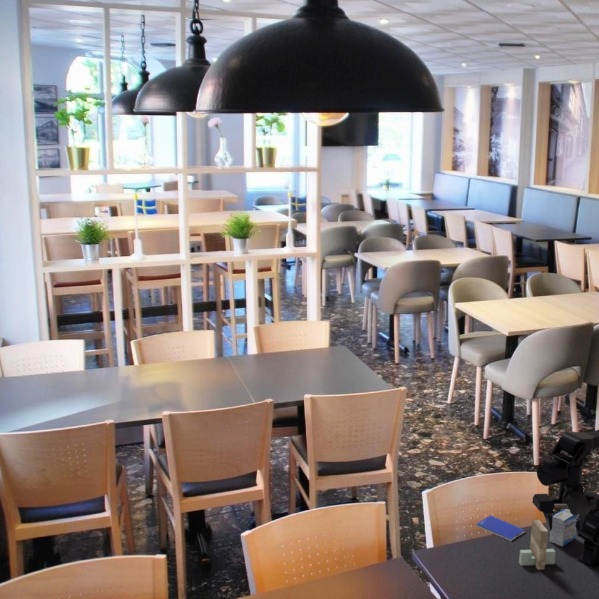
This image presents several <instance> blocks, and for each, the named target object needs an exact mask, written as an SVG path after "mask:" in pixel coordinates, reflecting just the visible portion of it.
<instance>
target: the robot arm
mask: <svg viewBox="0 0 599 599" xmlns="http://www.w3.org/2000/svg"><path fill="white" fill-rule="evenodd" d="M598 449H599V429H595V430H593V431H589V432H588V431H587V432H579V431H566V432H564V433H562V435H561V436H560V438H559V439H558V441H557V442H556V444H555V445H554V448H553V449H552V450H551V452H550V454H549V456H550V457H552V458H553V459H552V458H551V459H545V460H543V463H542V464H540V465H539V466H538V468H537V469H536V477H537V479H538V481H539V483H540V484H541V485H543V486H544V487H549V486H553V485H558V490H556V491H555V493H556V494H555V495H557V497H551V496H550V495H549V494H548V493H535V494H534V495H533V497H532V504H533V505H534V506H535V507H536V508H537V510H538V511H539V512H542V513H543V517H544V519H545V522H546V526H547V528H548V529H547V530H549V531H551V530H552V520H553V516H554V515H555V514H556V513H555V511H554V510H555V506H567V507H568V508H567V509H568V510H570V513H571V514H572V515H577V519H576V520H577V521H576V525H575V527H576V533H577V534H576V535H577V537H578V538H581V539H582V540H583V547H582V548H583V550H582V553H581V555H579V556H578V557H577V561H580V562H582V563H584V564H586V565H588V566H590V567H593V568H596V569H599V493H597V492H596V491H584V485H583V484H582V480H583V470H584V468H583V467H584V464H585V463H589V462H590V460H589V458H588V457H589V456H590V455H591V454H592V452H593V451H594V450H598ZM561 452H563V453H561ZM566 454H567V455H566ZM568 455H569V456H568Z"/></svg>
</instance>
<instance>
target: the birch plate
mask: <svg viewBox="0 0 599 599" xmlns="http://www.w3.org/2000/svg"><path fill="white" fill-rule="evenodd" d="M530 530H531V533H530V542H529V544H530V545H529V550H531V552H532V556H535V558H536V565H535V568H536V569H537V570H545V567H546V564H545V559H546V549H548V548H547V545H548V535H549V531H548V530H549V529H547V528H546V526H544V525H543V523H542V522H541V521H540V519H533V520H531V529H530Z"/></svg>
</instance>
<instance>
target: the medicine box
mask: <svg viewBox="0 0 599 599" xmlns="http://www.w3.org/2000/svg"><path fill="white" fill-rule="evenodd" d="M577 518H578V515H572V514H571V513H570V510H569V508H564V509H562V510H560V511H558V512H557V513H554V514H553V520H552V530H551V531H550V530H549V531H550V532H549V533H550V534H549V542H550V543H553V544H554V543H555V545H557V546H559V547H565V546H566V545H567V544H569V543H570V542H572V541H573V540H575V539H576V535H577V534H576V533H577V530H576V527H575V525H576V521H577V520H576V519H577Z"/></svg>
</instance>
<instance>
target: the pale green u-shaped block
mask: <svg viewBox="0 0 599 599" xmlns="http://www.w3.org/2000/svg"><path fill="white" fill-rule="evenodd" d="M555 560H556V550H555V549H554V548H546V559H545V565H555V563H556V562H555ZM518 563H519V565H520V566H536V558H535V556H532V552H531V550H530V549H520V550H519V558H518Z"/></svg>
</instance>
